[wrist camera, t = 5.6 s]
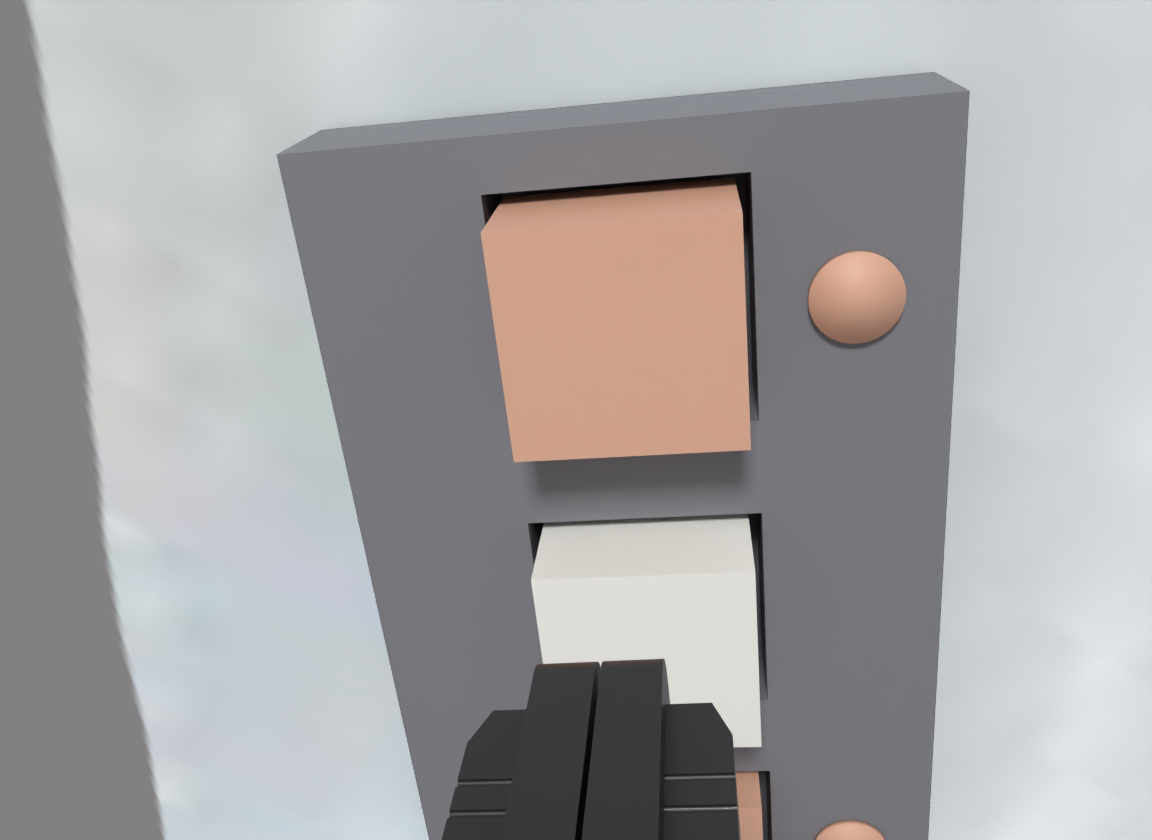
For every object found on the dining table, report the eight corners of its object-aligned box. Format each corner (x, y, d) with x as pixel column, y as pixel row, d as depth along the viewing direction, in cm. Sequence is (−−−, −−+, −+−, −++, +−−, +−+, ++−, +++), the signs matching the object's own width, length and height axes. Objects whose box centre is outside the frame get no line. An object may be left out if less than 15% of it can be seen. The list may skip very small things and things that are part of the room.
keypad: (934, 72, 22) (972, 92, 20) (901, 862, 32) (923, 952, 30) (321, 129, 24) (273, 156, 21) (469, 863, 34) (450, 948, 31)
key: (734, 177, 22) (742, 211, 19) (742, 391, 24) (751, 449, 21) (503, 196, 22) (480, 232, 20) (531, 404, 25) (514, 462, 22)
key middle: (747, 503, 25) (755, 571, 22) (752, 666, 27) (761, 747, 25) (546, 512, 26) (531, 580, 23) (567, 671, 28) (555, 750, 25)
